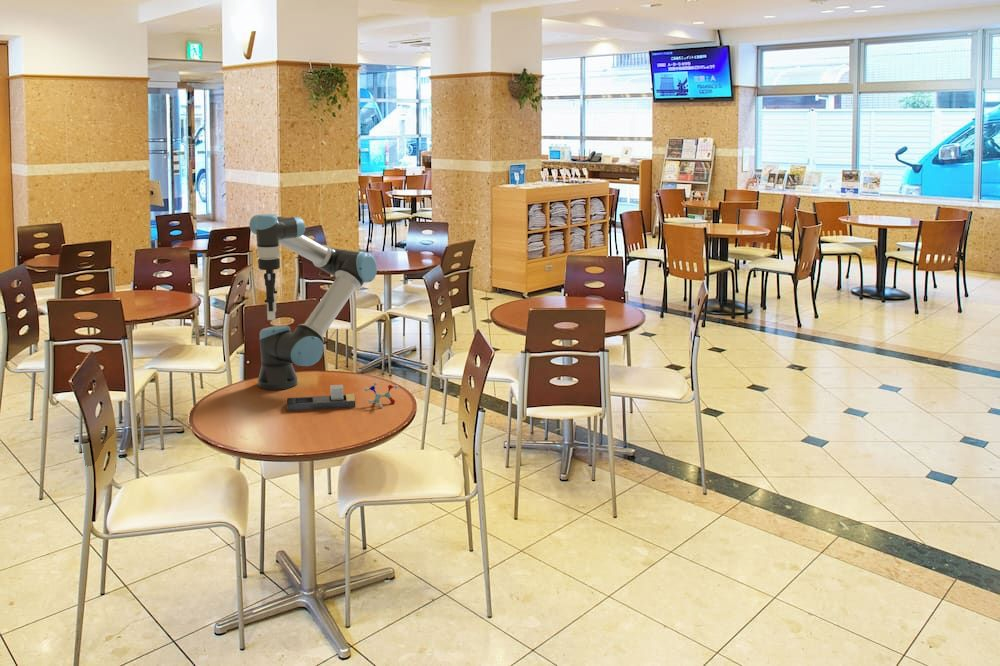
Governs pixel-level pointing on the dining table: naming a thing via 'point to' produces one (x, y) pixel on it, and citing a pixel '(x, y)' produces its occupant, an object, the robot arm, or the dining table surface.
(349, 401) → the grey slotted frame
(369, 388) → the molecular model
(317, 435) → the dining table surface
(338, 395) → the light grey rectangular block
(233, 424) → the dining table surface
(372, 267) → the robot arm
